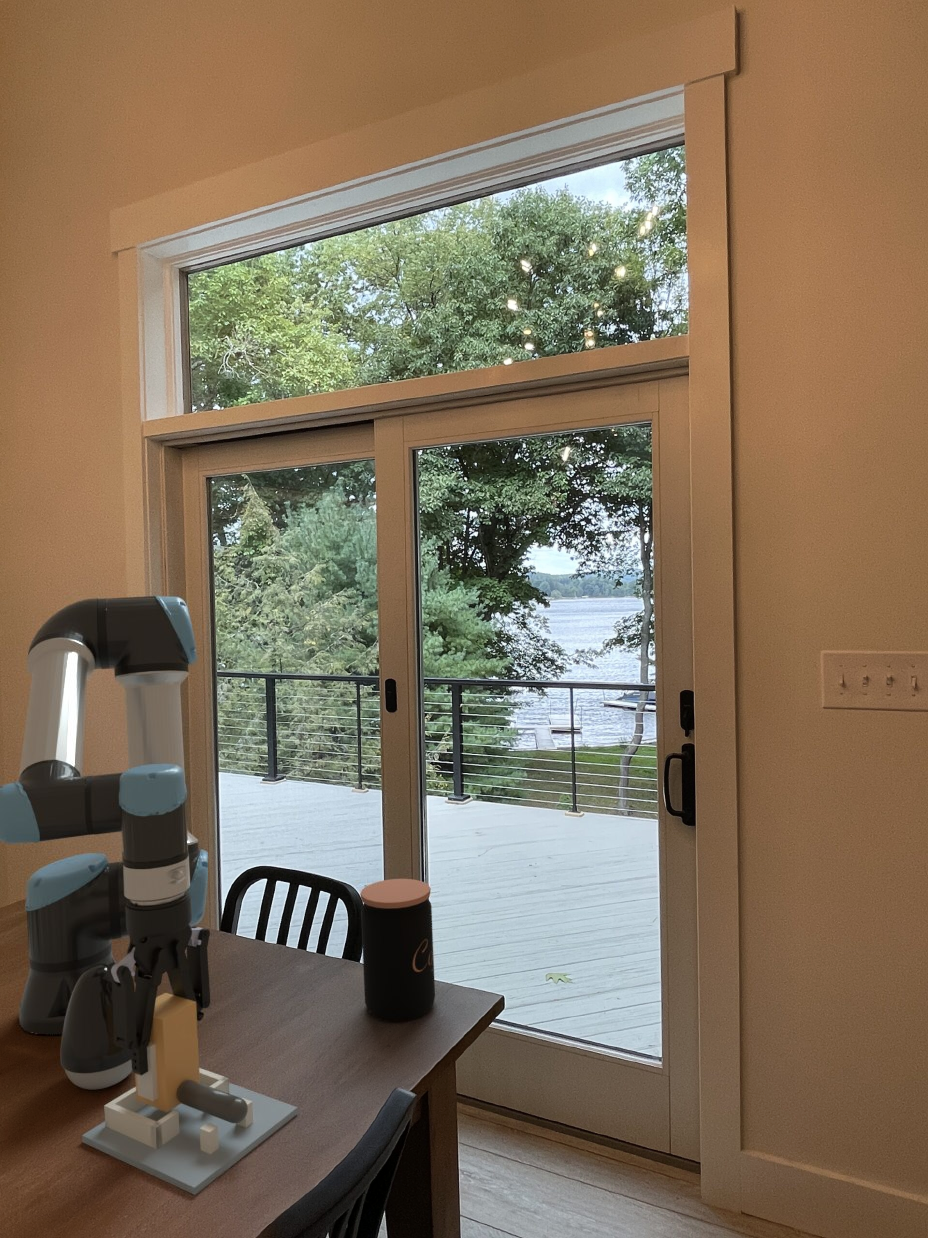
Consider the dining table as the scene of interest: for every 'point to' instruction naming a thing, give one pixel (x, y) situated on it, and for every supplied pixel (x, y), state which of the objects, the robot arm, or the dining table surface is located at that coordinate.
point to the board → (186, 1134)
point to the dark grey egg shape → (92, 1034)
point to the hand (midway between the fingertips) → (167, 1084)
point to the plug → (184, 1064)
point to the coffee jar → (397, 949)
